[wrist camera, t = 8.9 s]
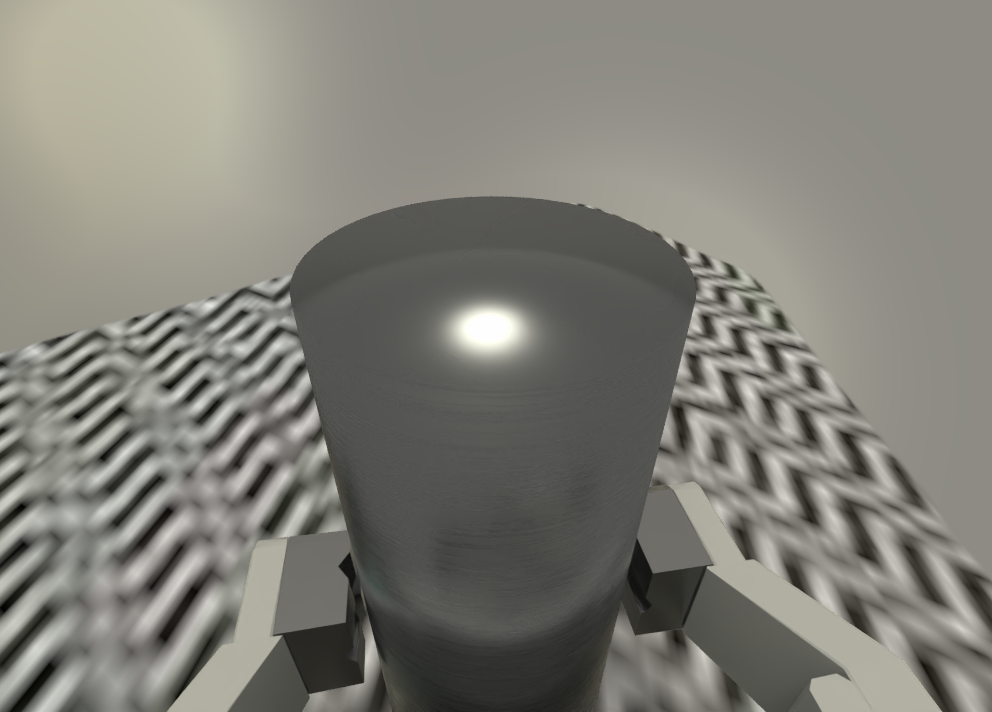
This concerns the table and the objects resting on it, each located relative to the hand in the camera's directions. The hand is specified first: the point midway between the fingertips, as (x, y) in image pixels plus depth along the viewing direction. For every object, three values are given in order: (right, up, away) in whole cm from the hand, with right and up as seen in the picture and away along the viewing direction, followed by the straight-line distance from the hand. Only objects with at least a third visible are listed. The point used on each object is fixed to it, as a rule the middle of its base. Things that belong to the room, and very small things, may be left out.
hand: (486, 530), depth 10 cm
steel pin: (0, -7, +4) cm, 8 cm away
